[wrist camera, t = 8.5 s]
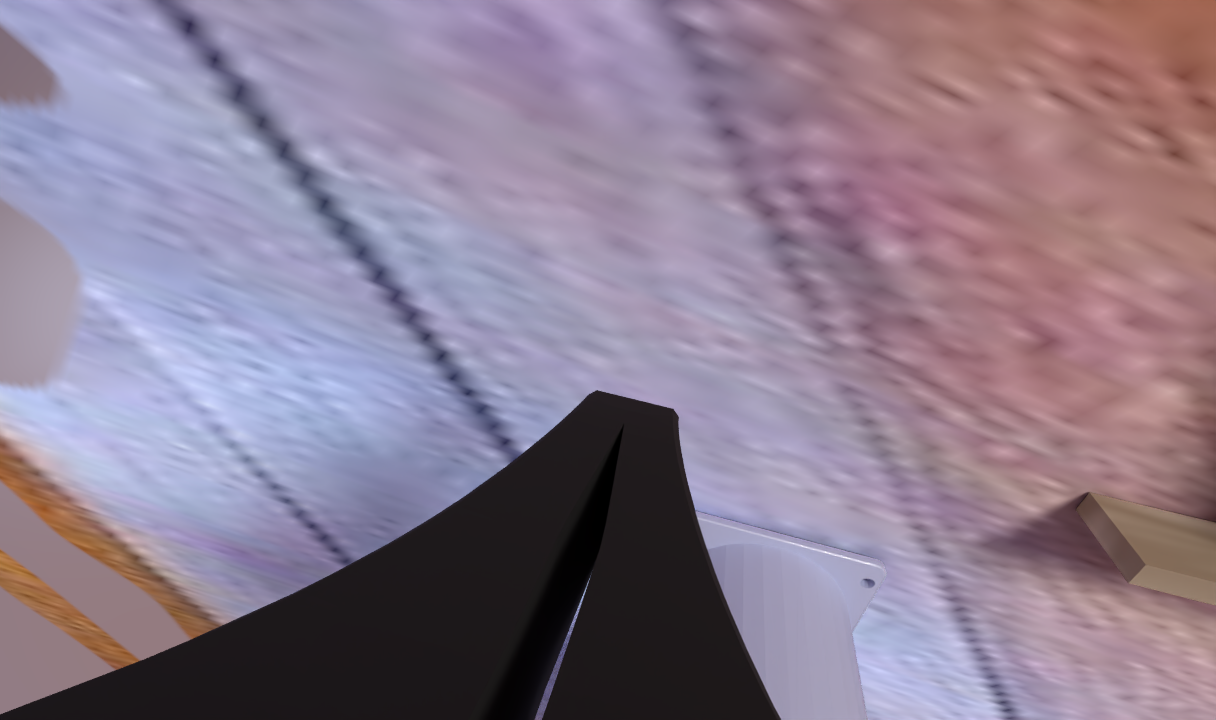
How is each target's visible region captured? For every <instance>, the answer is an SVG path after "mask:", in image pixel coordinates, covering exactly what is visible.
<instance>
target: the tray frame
mask: <svg viewBox="0 0 1216 720" xmlns="http://www.w3.org/2000/svg"><path fill="white" fill-rule="evenodd" d="M1076 511H1077V512H1078V514H1079V515H1080V517H1081V518H1082V519H1083V521H1084V522H1085V524H1086V525H1087V526H1088V528H1089V529H1090V530H1091V532H1092V533H1093V535H1094V536H1095V537H1096V539H1097V540H1098V542H1099V543H1100V544H1101V546H1102V547H1103V549H1104V550H1105V551H1106V553H1107V554H1108V556H1109V557H1110V558H1111V560H1112V561H1113V562H1114V564H1115V565H1116V567H1117V568H1118V569H1119V571H1120V572H1121V574H1122V575H1123V576H1124V578H1125V579H1126V581H1127V582H1128V583H1129V584H1133V585H1137V586H1141V587H1145V588H1149V589H1153V590H1157V591H1161V592H1164V593H1168V594H1172V595H1176V596H1180V597H1184V598H1188V599H1192V600H1196V601H1199V602H1203V603H1207V604H1211V605H1215V606H1216V523H1215V522H1211V521H1207V520H1202V519H1198V518H1194V517H1190V516H1186V515H1182V514H1177V513H1173V512H1169V511H1165V510H1161V509H1157V508H1152V507H1148V506H1144V505H1140V504H1136V503H1132V502H1128V501H1123V500H1119V499H1115V498H1111V497H1107V496H1103V495H1098V494H1094V493H1090V492H1089V494H1088V495H1087V496H1086V497H1085V499H1084V500H1083V501H1082V503H1081V504H1080V505H1079V506H1078V508H1077V509H1076Z"/></svg>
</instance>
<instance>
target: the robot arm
mask: <svg viewBox="0 0 1216 720" xmlns="http://www.w3.org/2000/svg"><path fill="white" fill-rule="evenodd" d="M678 419H679V417H678V415H677V414H676V412H675V411H674V409H671V408H667V407H663V406H659V405H655V404H651V403H647V402H643V401H639V400H635V399H630V398H626V397H622V396H618V395H614V394H610V393H606V392H602V391H598V390H596V391H595V392H593V393H591V394H589V395H588V396H587V397H586V398H585V399H584V400H583V401H582V402H581V403H580V404H579V405H578V406H577V407H576V408H575V409H574V410H573V411H572V412H571V413H570V414H568V415H567V416H566V417H565V418H564V419H563V420H562V421H561V422H560V423H559V424H557V425H556V426H555V427H554V428H553V429H552V430H551V431H549V432H548V433H547V434H546V435H545V436H544V437H542V438H541V439H540V440H539V441H537V442H536V443H535V444H534V445H533V446H531V447H530V448H529V449H528V450H526V451H525V452H524V453H523V454H521V455H520V456H519V457H518V458H517V459H515V460H514V461H513V462H511V463H510V464H509V465H507V466H506V467H505V468H503V469H502V470H501V471H499V472H498V473H496V474H495V475H494V476H492V477H491V478H490V479H488V480H487V481H485V482H484V483H483V484H481V485H480V486H478V487H477V488H476V489H474V490H473V491H471V492H470V493H469V494H467V495H466V496H464V497H463V498H461V499H460V500H459V501H457V502H455V503H454V504H452V505H451V506H449V507H448V508H446V509H445V510H443V511H442V512H440V513H439V514H437V515H435V516H434V517H432V518H431V519H429V520H427V521H426V522H424V523H423V524H421V525H419V526H417V527H416V528H414V529H412V530H411V531H409V532H407V533H406V534H404V535H402V536H401V537H399V538H397V539H396V540H394V541H392V542H390V543H389V544H387V545H385V546H383V547H381V548H379V549H378V550H376V551H374V552H372V553H370V554H368V555H367V556H365V557H363V558H361V559H359V560H357V561H355V562H354V563H352V564H350V565H348V566H346V567H344V568H342V569H341V570H339V571H337V572H335V573H333V574H331V575H329V576H327V577H325V578H323V579H321V580H319V581H317V582H315V583H313V584H311V585H309V586H307V587H305V588H303V589H301V590H299V591H297V592H295V593H293V594H291V595H289V596H287V597H284V598H282V599H280V600H278V601H276V602H273V603H271V604H269V605H267V606H265V607H262V608H260V609H258V610H256V611H253V612H251V613H249V614H247V615H245V616H242V617H240V618H238V619H236V620H233V621H231V622H229V623H227V624H225V625H222V626H220V627H218V628H216V629H214V630H211V631H209V632H207V633H205V634H202V635H200V636H198V637H196V638H194V639H191V640H189V641H187V642H184V643H182V644H180V645H177V646H175V647H173V648H170V649H168V650H165V651H163V652H161V653H158V654H156V655H154V656H151V657H149V658H146V659H144V660H141V661H139V662H136V663H134V664H131V665H128V666H126V667H123V668H121V669H118V670H115V671H113V672H110V673H107V674H105V675H102V676H100V677H97V678H94V679H92V680H89V681H87V682H84V683H81V684H79V685H76V686H73V687H71V688H68V689H66V690H63V691H61V692H58V693H55V694H52V695H50V696H47V697H45V698H42V699H40V700H37V701H34V702H31V703H29V704H26V705H24V706H21V707H18V708H16V709H13V710H11V711H8V712H5V713H3V714H0V720H534V719H535V716H536V714H537V711H538V708H539V705H540V702H541V700H542V697H543V694H544V691H545V688H546V686H547V683H548V681H549V678H550V676H551V673H552V671H553V668H554V666H555V663H556V661H557V658H558V656H559V653H560V651H561V648H562V646H563V643H564V641H565V638H566V636H567V633H568V631H569V628H570V626H571V623H572V621H573V618H574V616H575V613H576V611H577V608H578V606H579V603H580V601H581V598H582V596H583V593H584V591H585V588H586V586H587V583H588V581H589V583H588V586H587V589H586V592H585V595H584V598H583V601H582V604H581V607H580V610H579V613H578V616H577V619H576V622H575V625H574V628H573V631H572V634H571V637H570V640H569V643H568V646H567V649H566V652H565V655H564V658H563V661H562V663H561V666H560V669H559V672H558V675H557V678H556V681H555V684H554V687H553V690H552V693H551V696H550V699H549V701H548V704H547V707H546V710H545V713H544V716H543V718H542V720H868V719H867V713H866V708H865V702H864V696H863V691H862V685H861V679H860V674H859V668H858V663H857V657H856V651H855V646H854V640H853V635H852V633H853V631H854V629H855V628H856V626H857V624H858V623H859V621H860V619H861V618H862V616H863V614H864V613H865V611H866V609H867V608H868V606H869V604H870V603H871V601H872V599H873V598H874V596H875V594H876V593H877V591H878V589H879V588H880V586H881V584H882V583H883V581H884V580H885V578H886V575H887V573H886V569H885V566H884V564H883V563H882V562H881V561H879V560H877V559H874V558H870V557H867V556H863V555H859V554H855V553H852V552H848V551H844V550H840V549H837V548H833V547H829V546H825V545H821V544H818V543H814V542H810V541H806V540H803V539H799V538H795V537H791V536H788V535H784V534H780V533H776V532H773V531H769V530H765V529H761V528H757V527H754V526H750V525H746V524H742V523H739V522H735V521H731V520H727V519H724V518H720V517H716V516H712V515H709V514H705V513H701V512H697V511H695V508H694V504H693V501H692V497H691V493H690V490H689V486H688V482H687V478H686V473H685V469H684V464H683V458H682V453H681V447H680V440H679V428H678ZM591 573H592V574H591ZM590 576H591V577H590ZM589 578H590V580H589ZM863 579H868V580H863Z"/></svg>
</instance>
